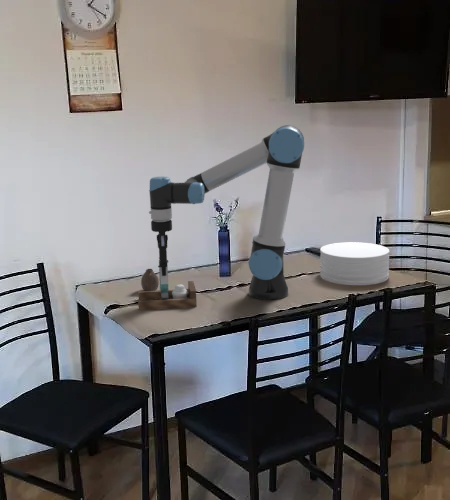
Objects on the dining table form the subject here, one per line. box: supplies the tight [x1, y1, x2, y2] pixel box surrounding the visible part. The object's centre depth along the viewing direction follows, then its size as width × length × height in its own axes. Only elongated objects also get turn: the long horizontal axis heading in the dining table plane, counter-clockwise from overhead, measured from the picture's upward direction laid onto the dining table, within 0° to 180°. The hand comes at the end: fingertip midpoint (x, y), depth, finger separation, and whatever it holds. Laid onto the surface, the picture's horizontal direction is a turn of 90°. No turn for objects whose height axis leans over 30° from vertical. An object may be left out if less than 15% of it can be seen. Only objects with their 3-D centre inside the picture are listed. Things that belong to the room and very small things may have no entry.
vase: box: [140, 268, 160, 291], centre depth 273 cm, size 7×7×9 cm
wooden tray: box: [137, 280, 198, 311], centre depth 257 cm, size 21×14×6 cm, turn 97°
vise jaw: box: [158, 260, 170, 300], centre depth 256 cm, size 3×10×16 cm, turn 7°
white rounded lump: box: [172, 284, 188, 299], centre depth 257 cm, size 6×6×7 cm
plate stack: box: [319, 241, 390, 286], centre depth 287 cm, size 28×28×12 cm
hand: (164, 281), depth 256 cm, fingers open, 4 cm apart
